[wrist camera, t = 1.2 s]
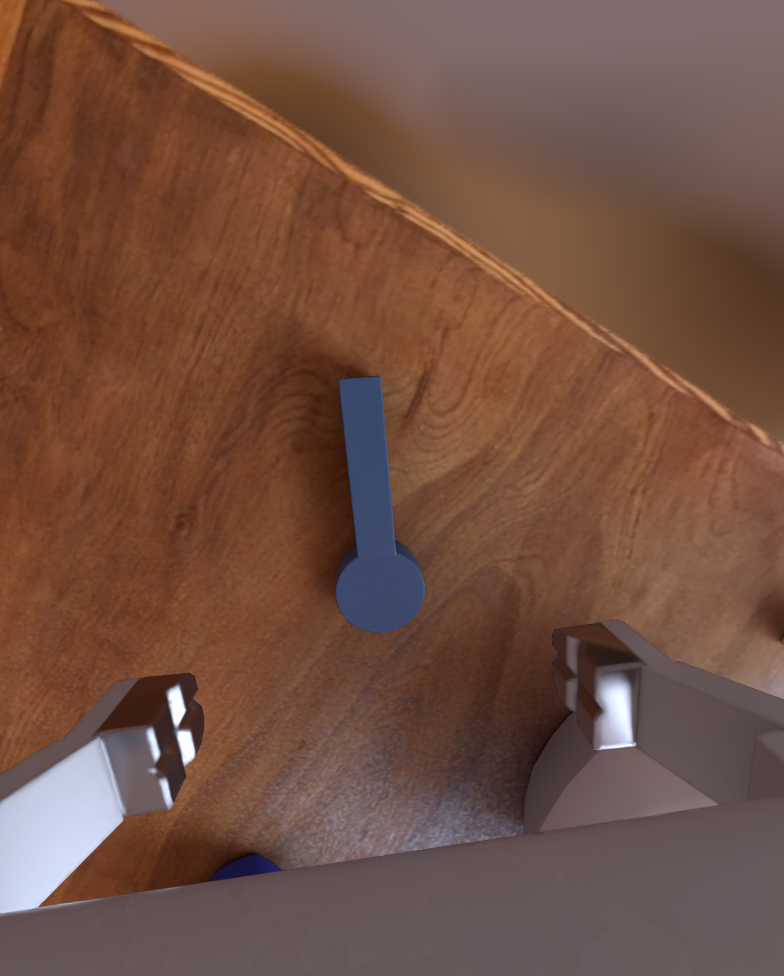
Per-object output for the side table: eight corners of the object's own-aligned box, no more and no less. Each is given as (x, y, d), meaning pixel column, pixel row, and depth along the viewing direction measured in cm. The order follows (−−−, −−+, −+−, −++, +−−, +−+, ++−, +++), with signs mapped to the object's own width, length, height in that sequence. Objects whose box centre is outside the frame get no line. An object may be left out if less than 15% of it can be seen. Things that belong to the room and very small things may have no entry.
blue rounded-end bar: (313, 384, 21) (305, 381, 18) (405, 377, 21) (412, 372, 18) (342, 619, 24) (339, 649, 21) (422, 609, 24) (430, 638, 22)
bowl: (766, 696, 28) (963, 840, 19) (665, 885, 31) (791, 1086, 22) (538, 646, 26) (636, 782, 16) (455, 856, 29) (499, 1068, 20)
